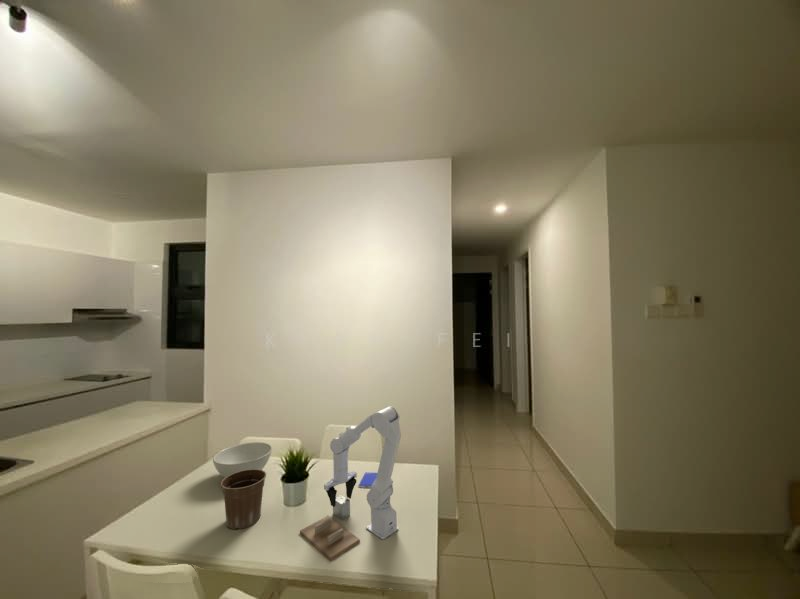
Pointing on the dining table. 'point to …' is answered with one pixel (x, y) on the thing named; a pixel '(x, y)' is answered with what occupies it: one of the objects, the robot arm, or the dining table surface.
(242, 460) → the decorative bowl
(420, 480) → the dining table surface
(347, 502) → the block
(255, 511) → the plant pot
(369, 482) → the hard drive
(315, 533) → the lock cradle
